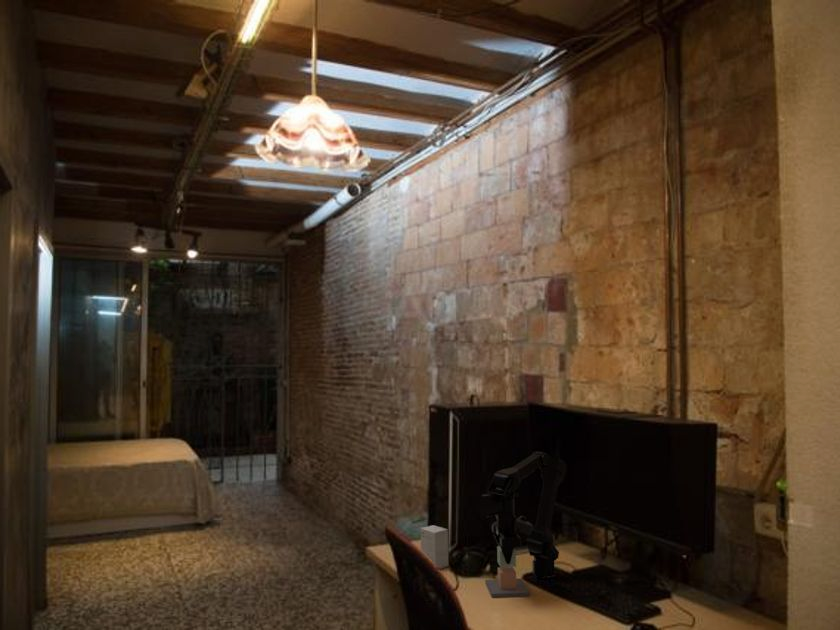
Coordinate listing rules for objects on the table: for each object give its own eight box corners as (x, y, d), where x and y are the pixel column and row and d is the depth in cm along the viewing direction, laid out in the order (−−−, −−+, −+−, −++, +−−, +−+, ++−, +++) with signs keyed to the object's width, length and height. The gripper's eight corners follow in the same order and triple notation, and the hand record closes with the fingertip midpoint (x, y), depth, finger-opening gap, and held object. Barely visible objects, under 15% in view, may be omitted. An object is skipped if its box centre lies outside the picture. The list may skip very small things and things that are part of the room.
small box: (448, 566, 229) (448, 529, 230) (435, 570, 225) (434, 532, 226) (434, 560, 236) (433, 524, 236) (420, 564, 232) (420, 527, 232)
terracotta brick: (513, 582, 210) (512, 566, 210) (516, 588, 205) (516, 572, 205) (497, 583, 209) (497, 567, 210) (500, 589, 204) (500, 573, 205)
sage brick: (512, 561, 210) (512, 545, 210) (516, 566, 205) (515, 550, 205) (497, 561, 210) (497, 546, 210) (500, 567, 205) (500, 551, 205)
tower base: (521, 582, 213) (521, 578, 213) (529, 596, 201) (529, 592, 202) (485, 583, 213) (485, 579, 213) (491, 597, 201) (491, 593, 201)
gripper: (537, 518, 199) (538, 570, 199) (523, 503, 218) (524, 550, 217) (501, 519, 199) (502, 571, 198) (490, 504, 217) (491, 552, 217)
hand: (506, 560), depth 208 cm, fingers closed on sage brick, 5 cm apart
